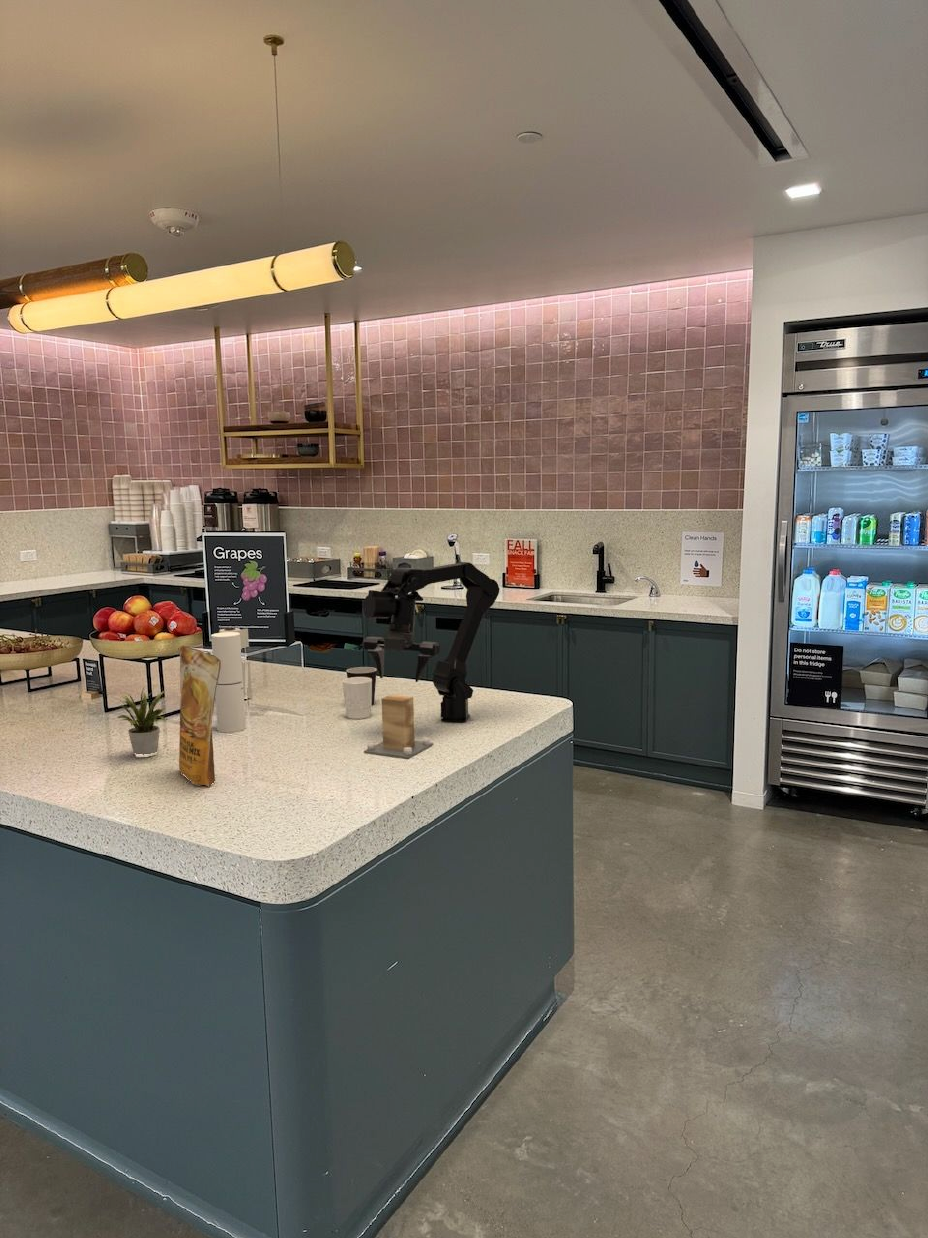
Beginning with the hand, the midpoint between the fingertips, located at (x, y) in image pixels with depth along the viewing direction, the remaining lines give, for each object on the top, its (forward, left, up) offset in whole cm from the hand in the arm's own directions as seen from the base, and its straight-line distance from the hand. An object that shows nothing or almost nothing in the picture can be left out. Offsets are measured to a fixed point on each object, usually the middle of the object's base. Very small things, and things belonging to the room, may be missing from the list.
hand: (399, 680), depth 227 cm
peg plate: (-4, +15, -13) cm, 20 cm away
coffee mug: (+19, -27, -14) cm, 36 cm away
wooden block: (-4, +15, -13) cm, 20 cm away
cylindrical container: (+45, +4, -14) cm, 47 cm away
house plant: (+56, +29, -14) cm, 64 cm away
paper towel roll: (+58, -25, -14) cm, 64 cm away
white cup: (+16, -13, -14) cm, 25 cm away
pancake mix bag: (+34, +41, -14) cm, 55 cm away
